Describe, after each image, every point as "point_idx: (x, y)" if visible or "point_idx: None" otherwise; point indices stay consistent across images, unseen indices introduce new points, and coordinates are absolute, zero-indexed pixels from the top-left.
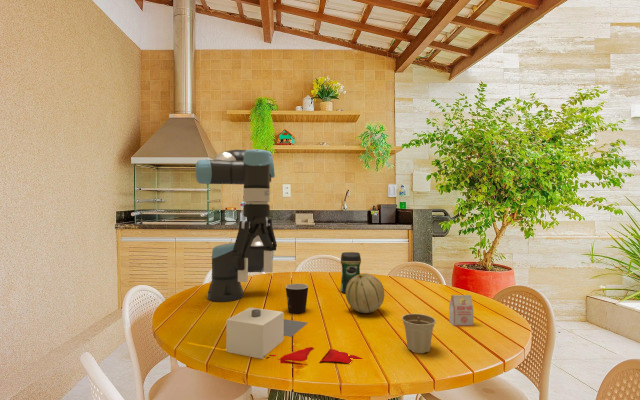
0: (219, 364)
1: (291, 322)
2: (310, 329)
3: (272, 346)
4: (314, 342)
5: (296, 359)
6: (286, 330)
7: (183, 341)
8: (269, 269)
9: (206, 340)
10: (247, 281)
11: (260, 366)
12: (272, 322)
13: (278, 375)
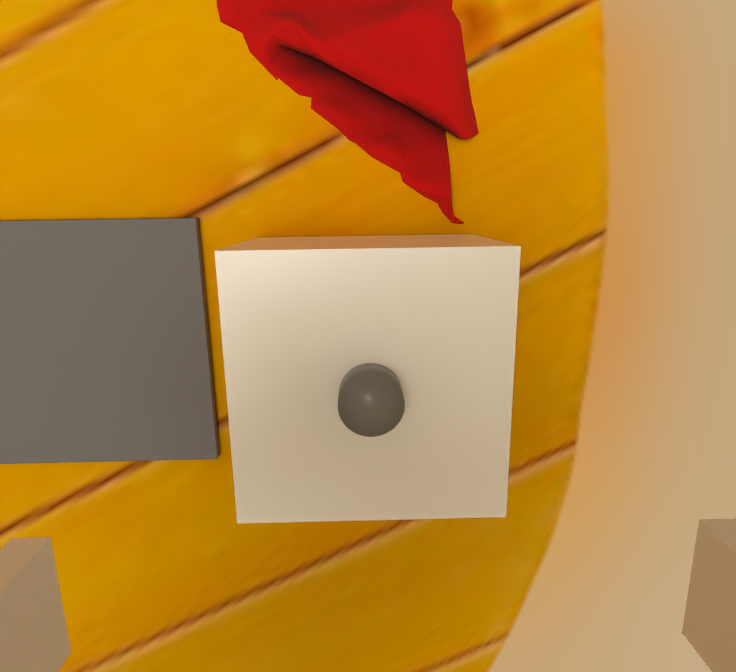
0: (577, 385)
1: (4, 320)
2: (21, 172)
3: (381, 236)
4: (182, 65)
5: (450, 48)
6: (129, 288)
7: (441, 655)
8: (29, 598)
9: (395, 581)
10: (712, 523)
11: (538, 206)
12: (389, 246)
13: (589, 79)
